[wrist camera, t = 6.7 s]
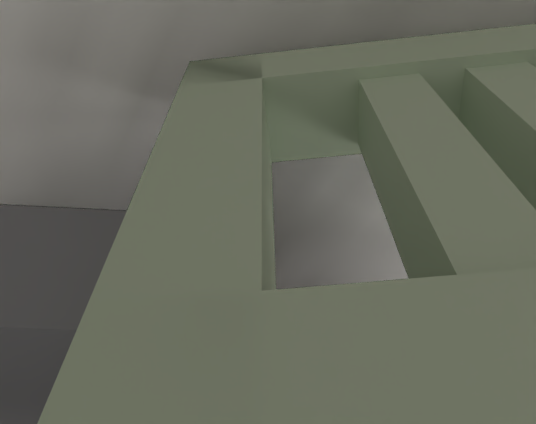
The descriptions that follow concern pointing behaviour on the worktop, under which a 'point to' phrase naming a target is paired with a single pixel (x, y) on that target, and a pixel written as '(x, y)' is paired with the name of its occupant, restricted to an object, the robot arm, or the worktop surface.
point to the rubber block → (45, 296)
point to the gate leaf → (330, 296)
